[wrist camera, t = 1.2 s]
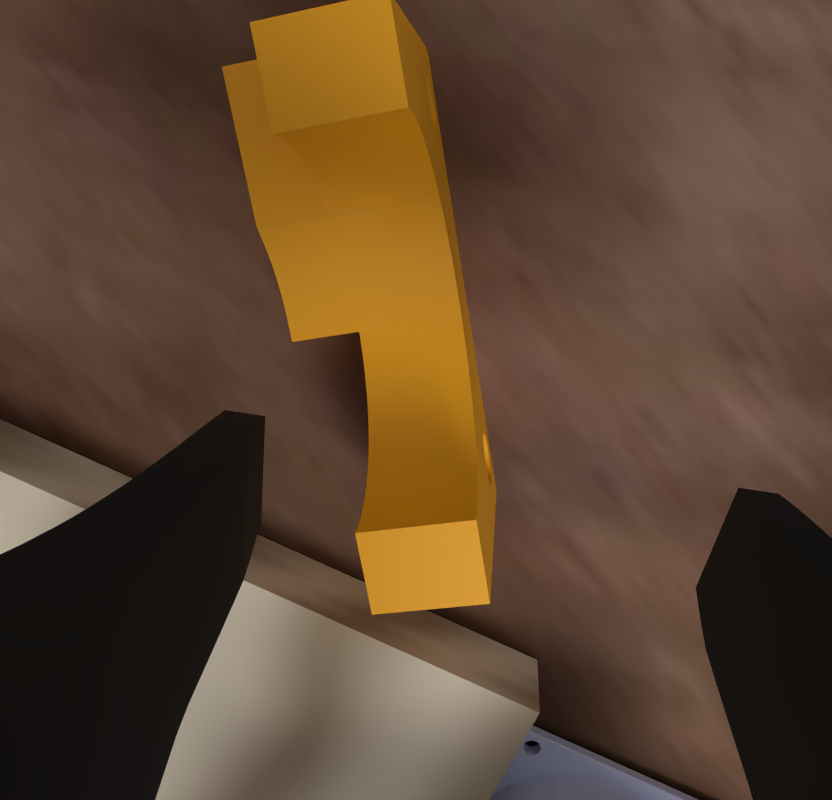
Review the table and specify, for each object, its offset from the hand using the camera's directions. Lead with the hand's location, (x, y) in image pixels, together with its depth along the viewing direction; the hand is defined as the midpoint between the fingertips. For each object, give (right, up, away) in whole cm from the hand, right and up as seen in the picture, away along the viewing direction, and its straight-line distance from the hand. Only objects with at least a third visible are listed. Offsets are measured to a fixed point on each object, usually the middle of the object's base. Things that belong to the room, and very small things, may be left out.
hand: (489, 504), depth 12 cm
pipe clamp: (-2, +4, +10) cm, 11 cm away
